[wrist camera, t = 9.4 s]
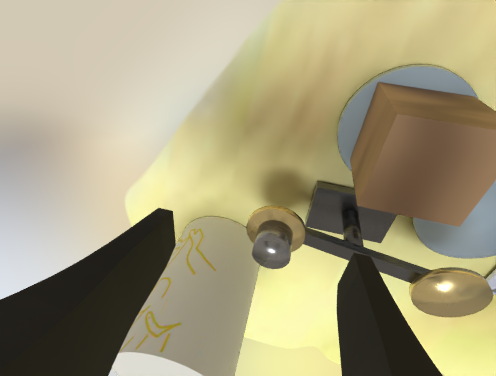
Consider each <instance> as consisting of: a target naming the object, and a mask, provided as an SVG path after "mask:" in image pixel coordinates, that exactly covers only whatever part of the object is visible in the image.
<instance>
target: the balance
mask: <svg viewBox="0 0 496 376" xmlns="http://www.w3.org/2000/svg"><path fill="white" fill-rule="evenodd" d="M396 215H397V214H394V213H389V212H384V211H380V210H375V209H370V208H365V207H360V206H357V200H356V194H355V189H354V188H349V187H344V186H339V185H334V184H329V183H324V182H319V181H317V184H316V187H315V190H314V194H313V197H312V200H311V204H310V207H309V210H308V213H307V217H306V220H305V225H304V222H303V220H302V219H301V218H300V217H299V216H298V215H297V214H296V213H295V212H293V211H291V210H289V209H287V208H284V207H280V206H265V207H262V208H259V209H257V210H256V211H254V212H253V213H252V214H251V216H250V217H249V220H248V223H247V227H246V231H247V235H248V237H249V239H250V240H251V242H252V243H253V244H254V246H253V249H252V257H253V259H254V260H255V261H256V262H257V263H258V264H260V265H261V266H263V267H266V268H270V269H279V268H283V267H285V266H286V265H287V264H288V263H289V261H290V256H291V252H293V251H295V250H297V249H298V248H300V247H301V245H302V244H305V245H308V246H310V247H313V248H316V249H319V250H321V251H324V252H327V253H330V254H332V255H335V256H338V257H341V258H343V259H346V260H349V261H350V259H351V257H352V255H353V253H358V254H362V255H367V256H371V258H372V260H373V262H374V264H375V265H376V267H377V269H378V271H379V272H382V273H385V274H388V275H390V276H393V277H396V278H399V279H401V280H404V281H407V282H410V283H411V284H410V287H409V293H410V296H411V300H412V302H413V304H414V305H415V306H416V307H417V308H418V309H419V310H421V311H423V312H425V313H427V314H430V315H434V316H440V317H461V316H467V315H470V314H474V313H476V312H479V311H481V310H482V309H484V308H485V307H487V306H488V305H489V304H490V302H491V301H492V298H493V292H492V289H491V287H490V286H489V284H488V282H487V281H486V279H485V278H484V277H483V276H481V275H480V274H478V273H476V272H474V271H471V270H468V269H463V268H452V267H450V268H439V269H434V270H428V269H425V268H423V267H420V266H417V265H414V264H411V263H408V262H405V261H402V260H399V259H397V258H394V257H391V256H388V255H385V254H382V253H379V252H376V251H373V250H371V249H368V248H365V247H364V246H363V240H362V239H364V240H368V241H373V242H377V243H381V242H382V240H383V238H384V237H385V235H386V233H387V231H388V230H389V228H390V226H391V224H392V223H393V221H394V219H395V217H396ZM307 227H310V228H314V229H319V230H323V231H328V232H332V233H337V234H341V235H343V236H344V240H342V239H339V238H336V237H333V236H330V235H327V234H324V233H321V232H319V231H316V230H313V229H310V228H307Z"/></svg>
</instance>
